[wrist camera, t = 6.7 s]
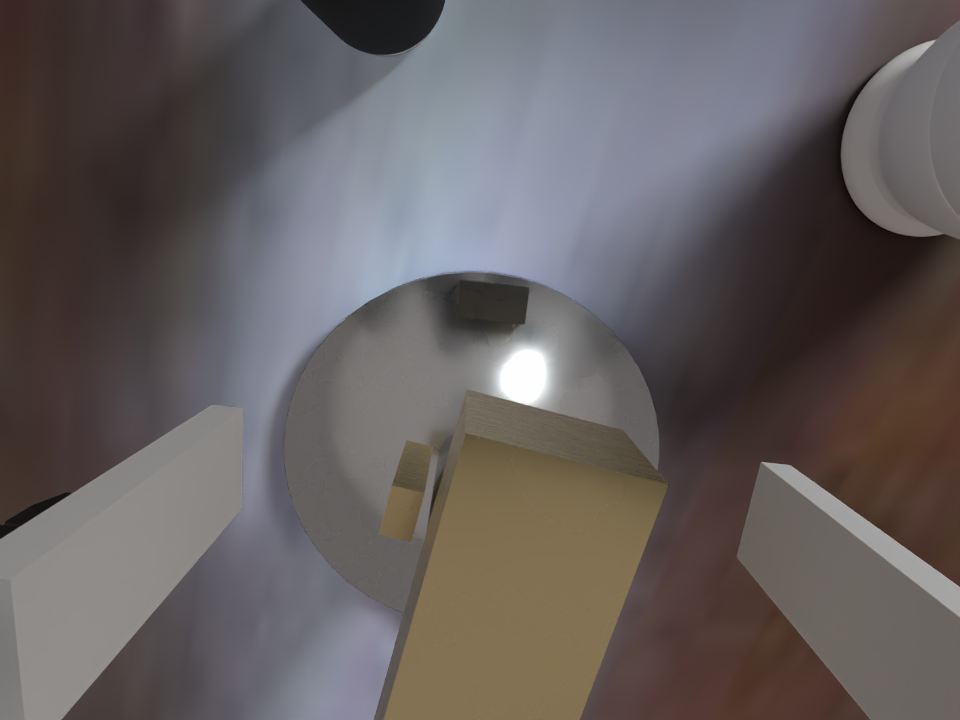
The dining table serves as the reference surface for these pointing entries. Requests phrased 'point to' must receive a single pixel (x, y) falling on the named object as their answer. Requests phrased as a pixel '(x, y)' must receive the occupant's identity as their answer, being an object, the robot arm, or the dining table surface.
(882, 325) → the dining table surface
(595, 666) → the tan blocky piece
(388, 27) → the dixie cup
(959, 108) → the jar
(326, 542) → the post base
